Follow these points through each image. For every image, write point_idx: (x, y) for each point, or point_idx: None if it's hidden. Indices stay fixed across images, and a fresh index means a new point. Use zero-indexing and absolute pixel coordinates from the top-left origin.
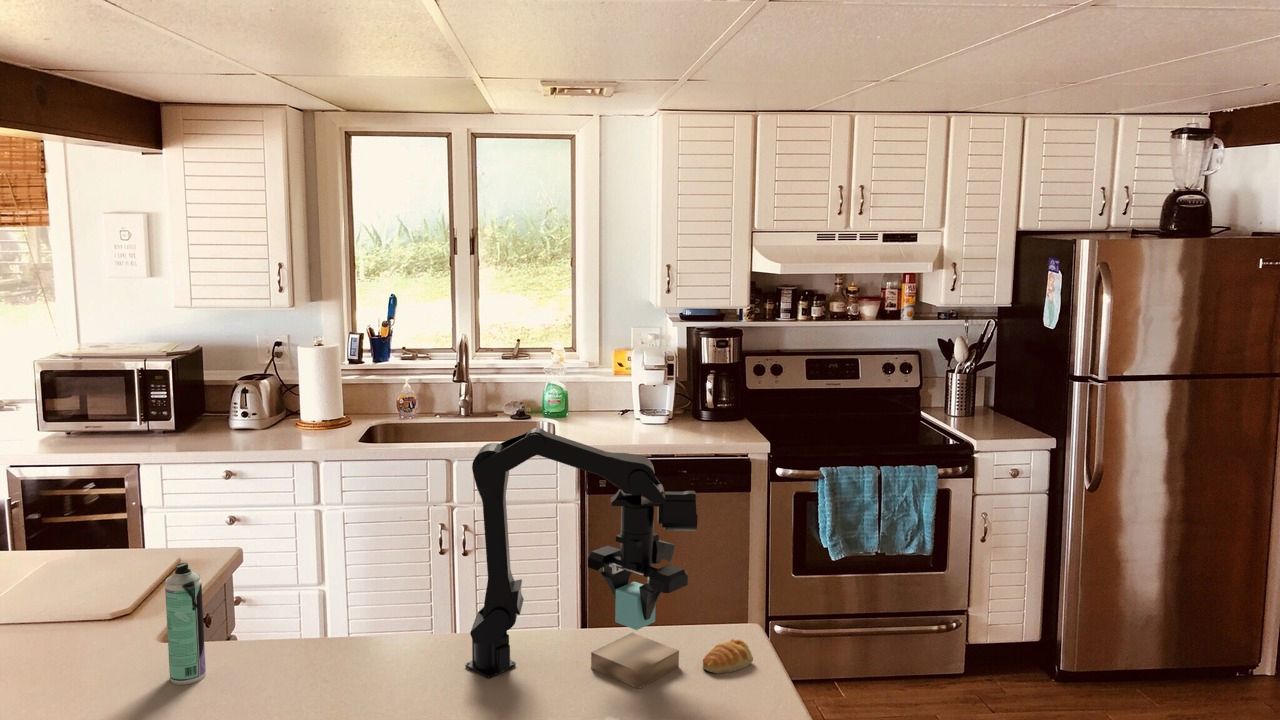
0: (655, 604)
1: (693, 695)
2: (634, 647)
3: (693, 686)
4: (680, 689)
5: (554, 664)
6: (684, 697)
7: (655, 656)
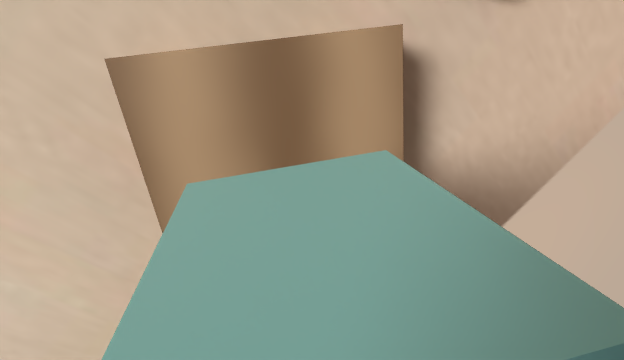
0: (460, 201)
1: (512, 136)
2: (255, 160)
3: (487, 97)
4: (467, 141)
5: (105, 333)
6: (498, 163)
7: (369, 144)
